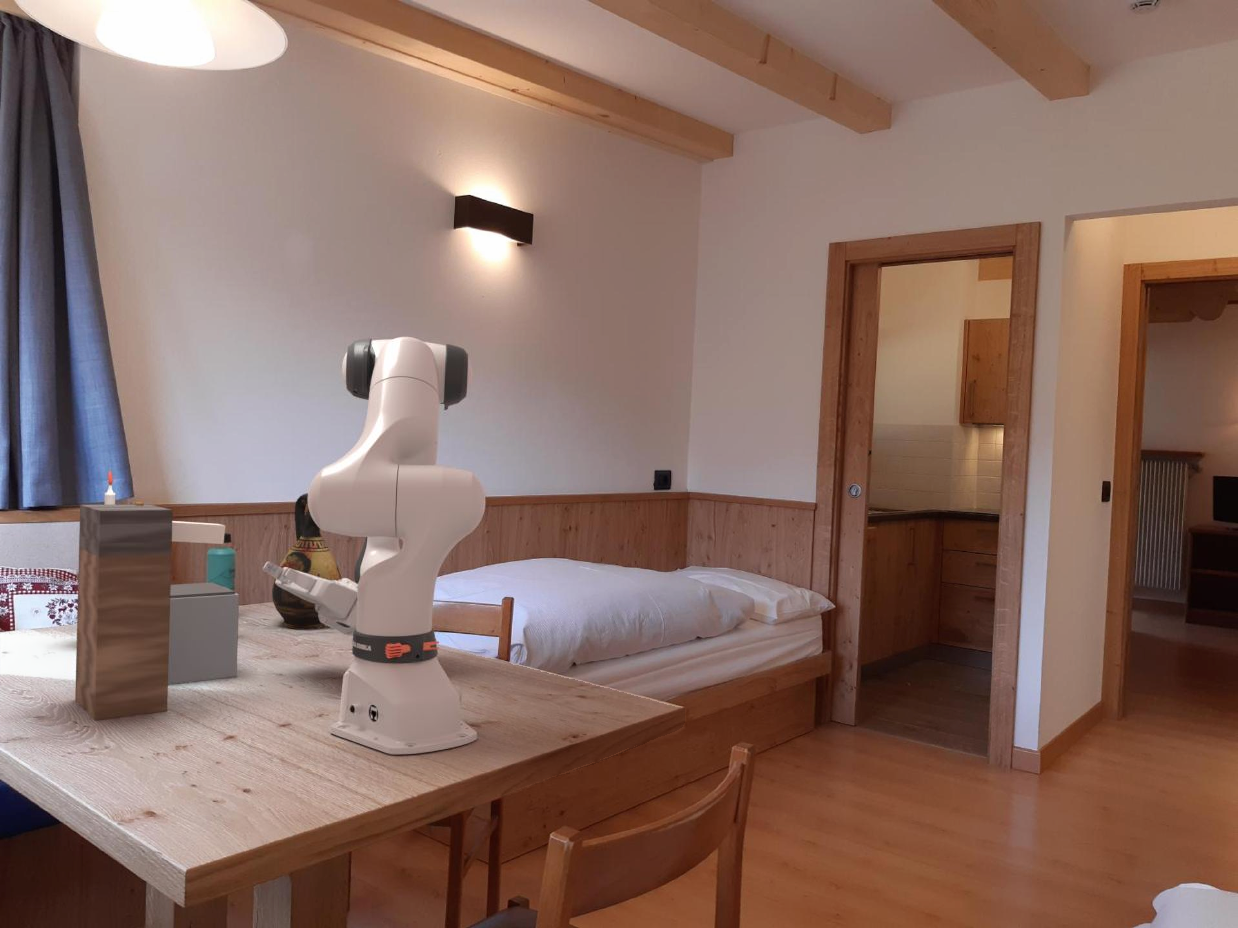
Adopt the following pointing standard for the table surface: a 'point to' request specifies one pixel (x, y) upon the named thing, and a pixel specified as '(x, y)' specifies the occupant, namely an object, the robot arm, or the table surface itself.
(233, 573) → the beverage bottle
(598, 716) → the table surface
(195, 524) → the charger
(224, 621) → the shelf
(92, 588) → the stand
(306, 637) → the table surface
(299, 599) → the ceramic jug
